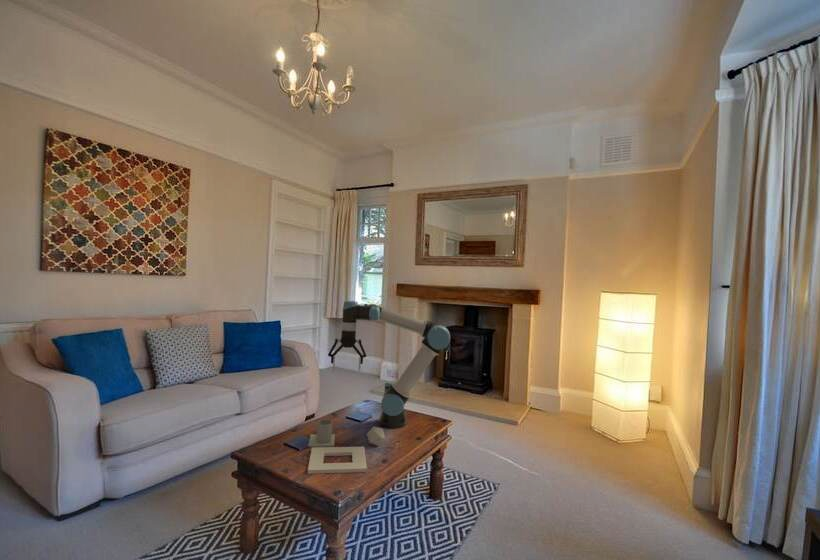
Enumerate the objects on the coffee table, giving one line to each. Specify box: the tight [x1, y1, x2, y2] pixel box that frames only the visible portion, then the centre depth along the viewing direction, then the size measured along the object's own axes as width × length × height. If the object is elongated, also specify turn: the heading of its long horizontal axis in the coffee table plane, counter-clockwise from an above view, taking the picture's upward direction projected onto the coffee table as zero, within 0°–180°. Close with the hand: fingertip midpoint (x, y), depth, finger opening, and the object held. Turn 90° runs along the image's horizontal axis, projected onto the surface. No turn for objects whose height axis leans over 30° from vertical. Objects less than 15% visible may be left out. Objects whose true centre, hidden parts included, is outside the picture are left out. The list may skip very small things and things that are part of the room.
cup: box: [316, 418, 333, 443], centre depth 179 cm, size 7×10×9 cm
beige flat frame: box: [307, 446, 368, 475], centre depth 161 cm, size 24×20×2 cm
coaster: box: [307, 433, 336, 448], centre depth 179 cm, size 12×12×1 cm
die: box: [366, 425, 386, 447], centre depth 180 cm, size 8×9×10 cm
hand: (346, 369), depth 195 cm, fingers open, 13 cm apart
